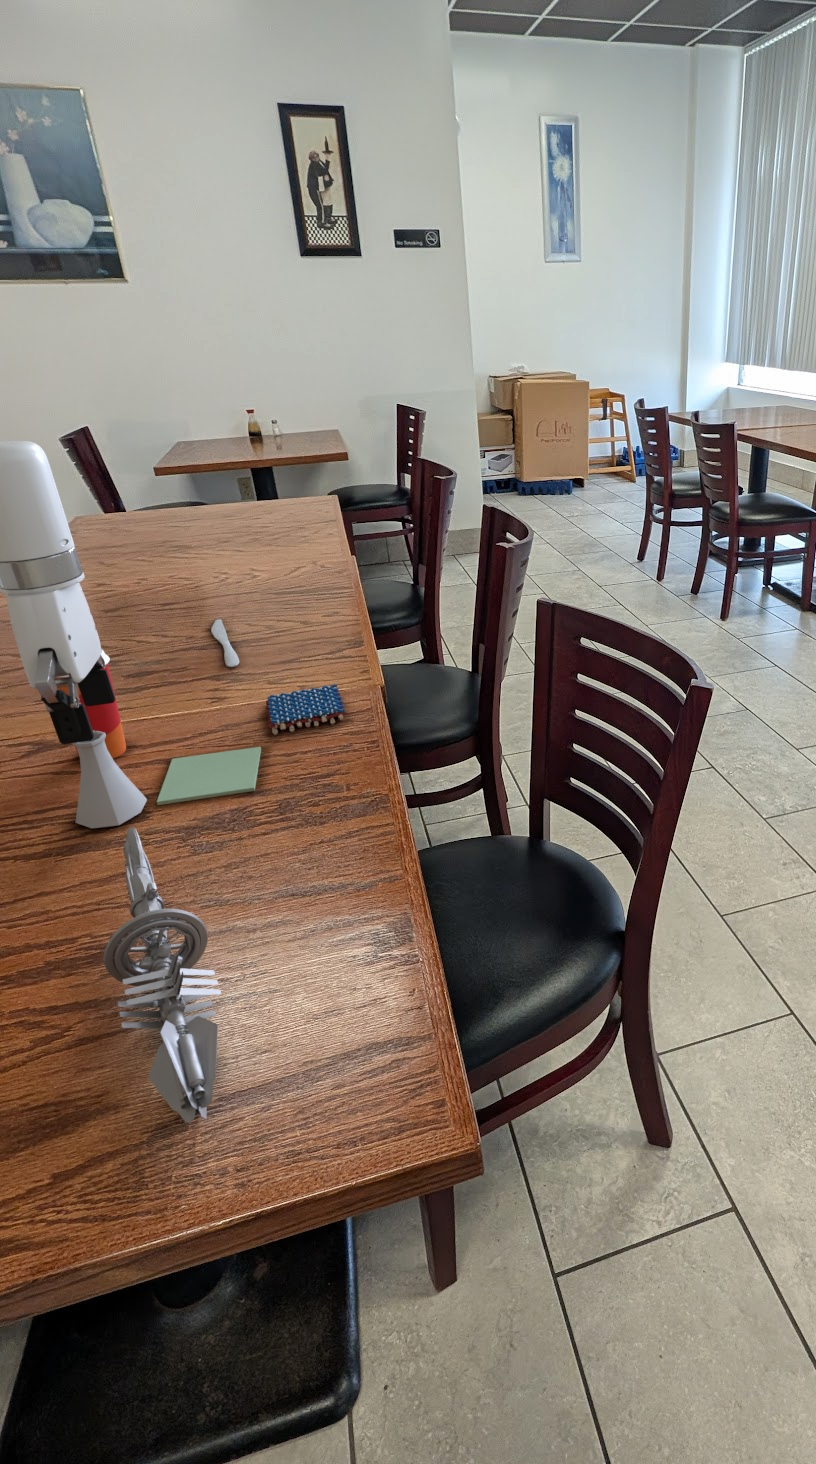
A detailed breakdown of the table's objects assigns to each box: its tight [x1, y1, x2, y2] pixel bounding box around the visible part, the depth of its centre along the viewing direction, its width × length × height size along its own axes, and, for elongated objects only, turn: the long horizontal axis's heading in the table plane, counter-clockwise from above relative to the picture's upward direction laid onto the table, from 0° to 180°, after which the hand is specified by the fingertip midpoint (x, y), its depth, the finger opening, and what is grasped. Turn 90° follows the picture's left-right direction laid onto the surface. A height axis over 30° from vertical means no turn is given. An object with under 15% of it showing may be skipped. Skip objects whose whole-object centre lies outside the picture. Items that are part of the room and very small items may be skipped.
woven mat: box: [265, 683, 347, 736], centre depth 118 cm, size 10×11×2 cm
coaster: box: [156, 746, 262, 806], centre depth 103 cm, size 11×11×1 cm
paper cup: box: [55, 648, 127, 760], centre depth 106 cm, size 8×8×14 cm
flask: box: [71, 731, 148, 829], centre depth 93 cm, size 7×7×10 cm
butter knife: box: [210, 618, 240, 668], centre depth 146 cm, size 1×27×3 cm
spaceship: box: [103, 826, 222, 1124], centre depth 69 cm, size 8×35×8 cm
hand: (90, 721), depth 90 cm, fingers open, 9 cm apart
